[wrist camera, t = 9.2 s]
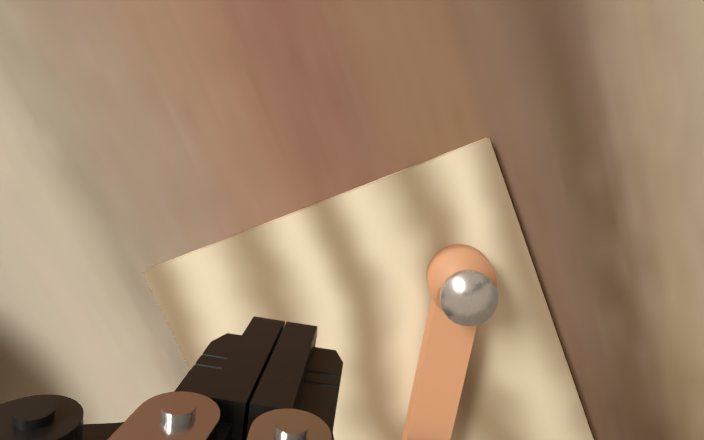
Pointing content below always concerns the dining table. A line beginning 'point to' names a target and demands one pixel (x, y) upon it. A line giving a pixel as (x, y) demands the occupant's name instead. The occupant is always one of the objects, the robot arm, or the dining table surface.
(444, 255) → the link
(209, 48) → the dining table surface
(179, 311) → the board
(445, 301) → the silver metal ball
